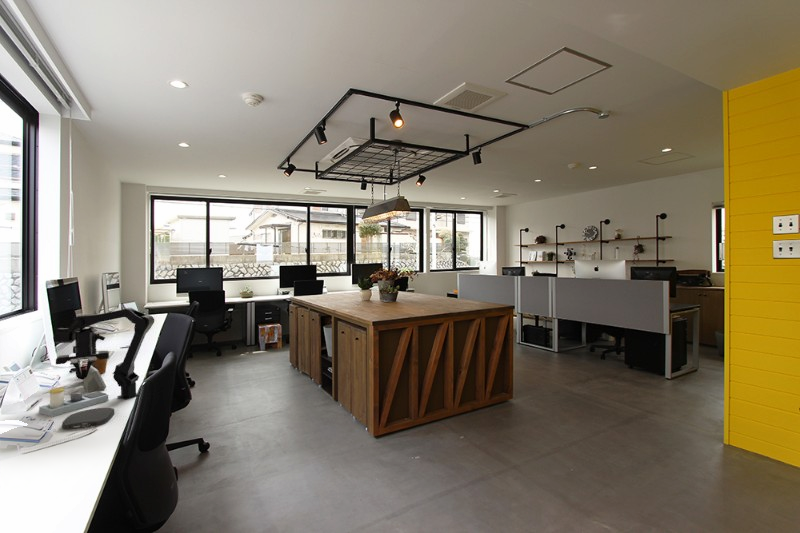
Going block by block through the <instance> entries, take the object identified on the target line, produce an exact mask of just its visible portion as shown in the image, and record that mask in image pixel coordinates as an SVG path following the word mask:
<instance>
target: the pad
mask: <svg viewBox="0 0 800 533" xmlns="http://www.w3.org/2000/svg"><path fill="white" fill-rule="evenodd" d="M93 392H94V393H92V392H89V393H90V394H89V393H85V394H86V395H85V394H82V395H83V396H85V397H88V398H91V399H92V398H95V397H99V396H102V395H106V394H107V393H105V392H102V391H100V390H99V391H97V390H96V391H93Z"/></svg>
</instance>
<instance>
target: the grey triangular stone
mask: <svg viewBox="0 0 800 533" xmlns="http://www.w3.org/2000/svg"><path fill="white" fill-rule="evenodd" d="M85 366H86V367H85V368H86V369H87V365H85ZM82 386H83V389H85V390H86V391H87V392H89V393H90V392H94V391H97V390H99V391H100V390H101V391H103V390H106V389H107V385H106V383H105V381H104V379H103V377H102V374H100V373H99V371H98V370H97V369H96V368H94V367H93V366H92V365H91V367H90V369H89V372H88V375H87V377H86V378H84V380H83V385H82Z"/></svg>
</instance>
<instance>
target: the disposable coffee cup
mask: <svg viewBox="0 0 800 533" xmlns="http://www.w3.org/2000/svg"><path fill="white" fill-rule="evenodd" d="M101 351H105V350H96V354H98V353H99V352H101ZM107 364H108V359H101V360H100V359H99V358H97V360H96V362H93V363H92V365H96V366H97V370H98V371H99V373H100V375H102V374H105V373H106V371H107V370H106V369H107Z"/></svg>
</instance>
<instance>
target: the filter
mask: <svg viewBox="0 0 800 533" xmlns="http://www.w3.org/2000/svg"><path fill="white" fill-rule="evenodd" d="M81 329H84V328H81ZM81 329H78V330H76V331H80V330H81ZM99 340H100V341H105V340H106V337H105V336H102V335H100V333H95V332H93V333H91V347H92V354H96V351H97V341H99ZM87 362H88V359H86V360H82V365H81V376H80V375H79V373H78V371H77V370H76V368H75V369H74V370H75V376H76V378H77V379H79V380H84V378H86V377H87V376H86V368H85V367H86V366H87ZM92 366H93V367H94V368H96V369H97V366H96V365H92Z"/></svg>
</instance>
